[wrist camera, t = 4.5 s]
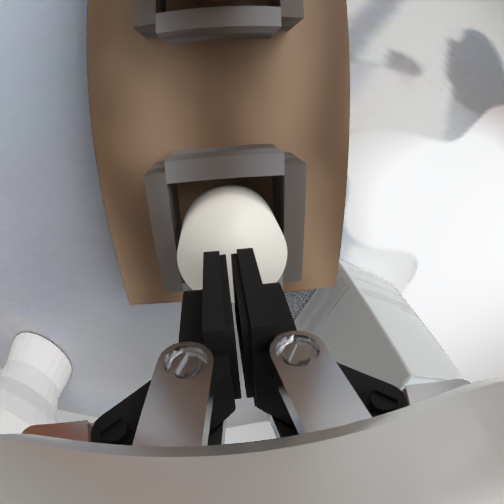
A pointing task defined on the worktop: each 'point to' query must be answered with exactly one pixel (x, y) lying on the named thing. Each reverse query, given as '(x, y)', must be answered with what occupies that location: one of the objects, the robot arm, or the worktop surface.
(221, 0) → the terracotta plunger
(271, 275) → the off-white plunger
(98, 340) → the worktop surface
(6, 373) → the cup
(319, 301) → the supplement box
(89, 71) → the button board
